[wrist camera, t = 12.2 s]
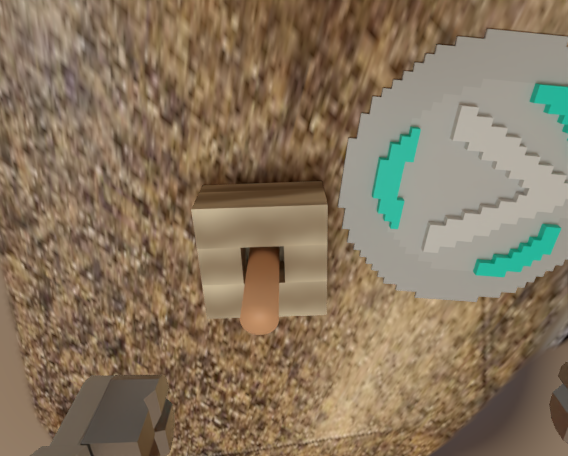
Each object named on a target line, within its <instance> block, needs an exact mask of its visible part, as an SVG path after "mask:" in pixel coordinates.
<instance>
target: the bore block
mask: <svg viewBox="0 0 568 456" xmlns="http://www.w3.org/2000/svg"><path fill="white" fill-rule="evenodd" d="M191 211H192V218H193V224H194V231H195V238H196V245H197V252H198V259H199V266H200V273H201V280H202V287H203V293H204V300H205V307H206V314H207V319H212V318H240V315H241V307H242V300H243V293H244V286H245V279H246V272H247V265H248V258H249V251H250V247H273V246H280V260H279V316H306V315H327V221H328V204H327V200H326V196H325V191H324V187H323V183H322V181H307V182H279V183H252V184H224V185H203V186H202V188H201V190H200V192H199V194H198V196H197V198H196V200H195V203H194V205H193V207H192V209H191Z"/></svg>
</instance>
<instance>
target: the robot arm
mask: <svg viewBox="0 0 568 456" xmlns="http://www.w3.org/2000/svg"><path fill="white" fill-rule="evenodd" d="M558 377H559V378H560V380H561V381H562V383H563V384H562V385H561V386H559V388H557V389H556V390H555V391H553V393H552V396H551V400H550V404H549V405H550V412H551V418H552V421H553V423H554V426H555V428H556V430H557V432H558V433H559V435H560V436H561V438H562V439H563V441H565V442H566V443H568V362H566V363H565V364H564V365H562V366H561V369H560V372H559V374H558ZM168 390H169V386H168V382H167V378H166V376H164V375H115V376H90V377H89V378H88V379H87V380H86V381H85V382H84V384H83V385H82V387H81V389H80V391H79V393H78V395H77V396H76V398H75V400H74V402H73V404H72V406H71V407H70V409H69V411H68V413H67V415H66V417H65V418H64V420H63V422H62V424H61V426H60V428H59V429H58V431H57V433H56V435H55V437H54V439H53V440H52V442H51V444H50V446H42V447H41V448H39V449H38V450H36V451H35V452H34V453H33V454H31V455H30V456H167V454H168V453H169V452H170V450H171V446H172V441H173V435H174V425H175V420H174V410H173V404H172V403H171V402H170V401H168V400H167V399H166V397H167V393H168Z"/></svg>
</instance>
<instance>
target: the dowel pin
mask: <svg viewBox="0 0 568 456" xmlns="http://www.w3.org/2000/svg"><path fill="white" fill-rule="evenodd" d="M279 260H280V246H273V247H250V251H249V258H248V265H247V272H246V279H245V286H244V293H243V300H242V307H241V315H240V323H241V325H242V327H243V328H244V329H245V330H246V331H248V332H250V333H252V334H256V335H264V334H268V333H270V332H272V331H273V330H274V329H275V328H276V327H277V325H278V322H279Z"/></svg>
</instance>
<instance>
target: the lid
mask: <svg viewBox="0 0 568 456" xmlns="http://www.w3.org/2000/svg"><path fill="white" fill-rule="evenodd" d="M567 42H568V37H566V36H556V35H546V34H536V33H526V32H515V31H505V30H495V29H486V32H485V36H484V39H481V38H470V37H460V36H457V37H456V41H455V45H454V46H448V45H437V44H436V48H435V53H434V54H427V53H425V57H424V61H423V63H418V62H414V66H413V71H412V72H411V71H403V76H402V80H394V79H393V82H392V87H391V88H382V94H381V97H378V96H372V101H371V107H370V112H369V114H368V113H361V115H360V121H359V127H358V133H357V138H349V137H348V143H347V150H346V156H345V163H344V169H343V175H342V182H341V188H340V195H339V201H338V207H342V208H345V212H344V218H343V224H342V229H349V234H348V239H347V243H354V248H353V249H354V250H360V255H359V256H360V257H366V262H365V263H367V264H372V268H371V270H376V271H378V274H377V277H384V279H383V283H386V284H396V288H395V289H396V290H400V291H414V292H415V298H429V299H443V300H457V301H471V302H477V299H478V297H479V296H483V297H497V298H499V297H500V294H501V292H510V293H515V292H516V289H517V287H523V288H524V287H525V284H526V282H534V280H535V277H536V276H541V277H543V275H544V273H545V271H553V269H554V267H555V265H563V263H564V260H565V259H568V47H566V45H567Z"/></svg>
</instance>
